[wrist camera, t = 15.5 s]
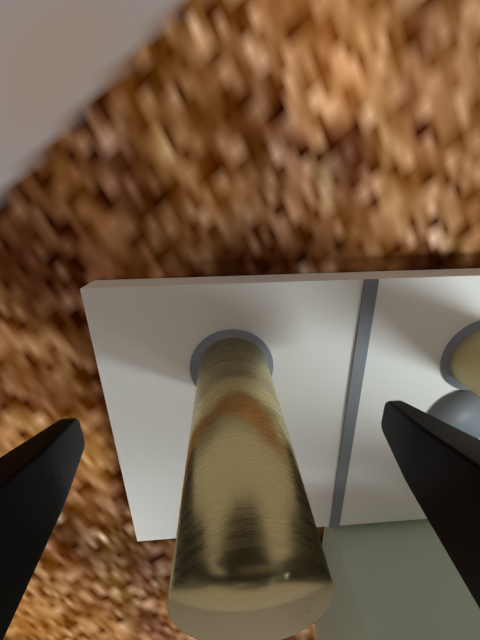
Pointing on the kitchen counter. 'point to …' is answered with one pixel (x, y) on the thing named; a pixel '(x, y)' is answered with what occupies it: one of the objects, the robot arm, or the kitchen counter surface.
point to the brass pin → (244, 511)
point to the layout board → (289, 376)
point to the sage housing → (394, 585)
